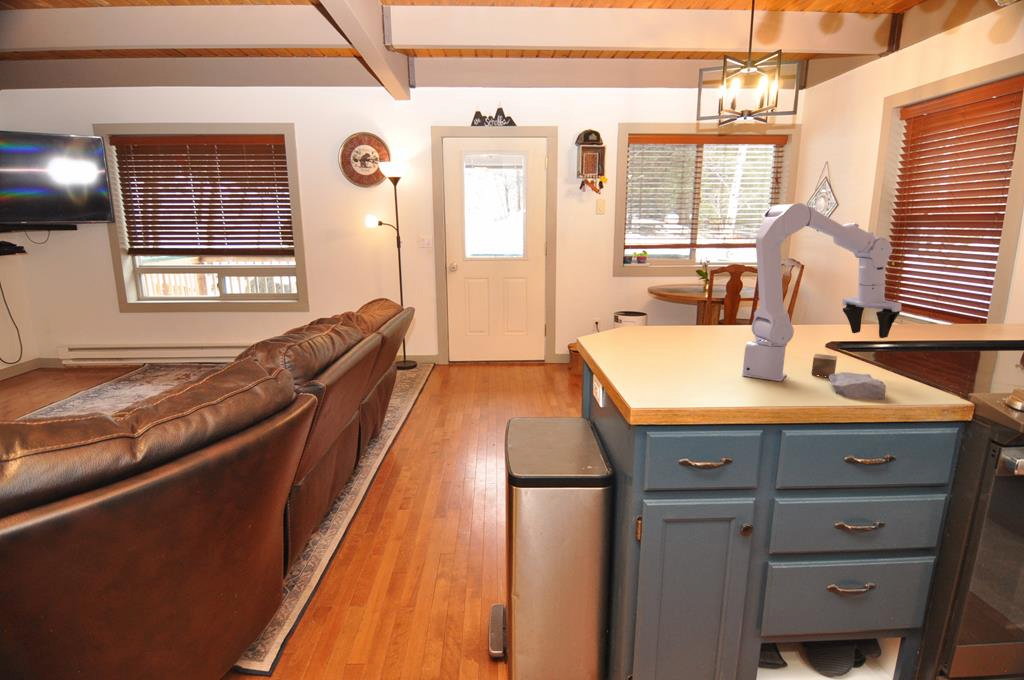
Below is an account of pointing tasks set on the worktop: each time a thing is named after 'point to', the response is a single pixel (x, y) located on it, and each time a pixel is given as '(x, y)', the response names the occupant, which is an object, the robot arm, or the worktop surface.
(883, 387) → the stone block
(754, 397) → the worktop surface
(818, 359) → the walnut cube
